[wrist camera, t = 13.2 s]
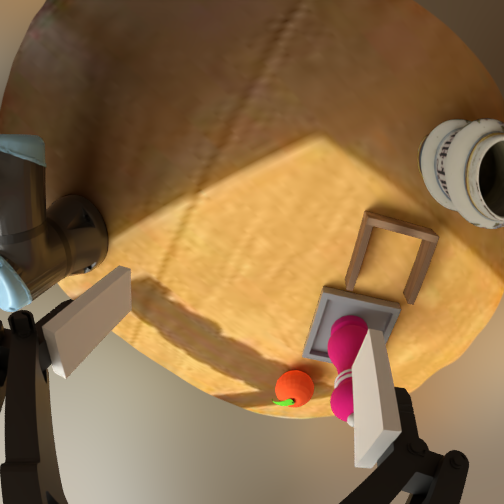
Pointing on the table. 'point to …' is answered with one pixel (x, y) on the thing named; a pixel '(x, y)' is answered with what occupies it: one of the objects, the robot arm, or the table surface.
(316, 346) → the tray
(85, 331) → the robot arm
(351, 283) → the cubby
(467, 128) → the apothecary jar
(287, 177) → the table surface
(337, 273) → the table surface
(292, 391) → the clementine
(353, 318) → the pepper mill
